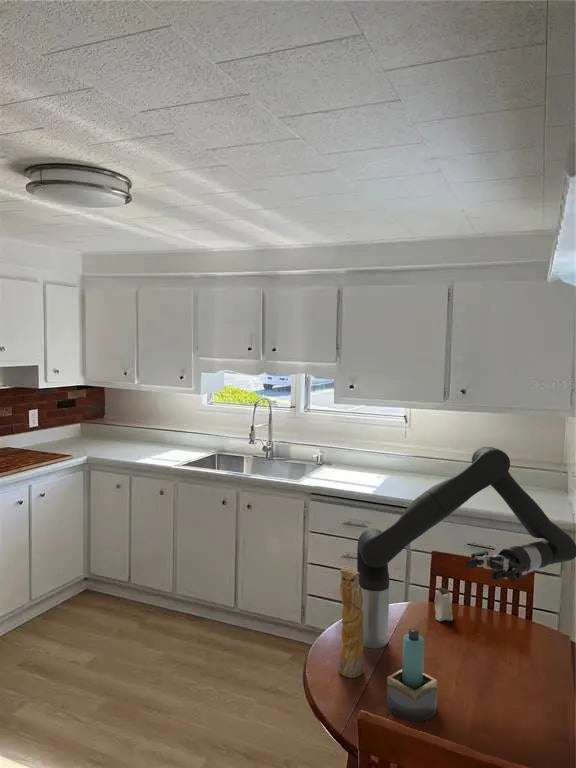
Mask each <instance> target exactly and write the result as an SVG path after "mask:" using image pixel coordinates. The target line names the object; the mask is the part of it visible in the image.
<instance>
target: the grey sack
mask: <svg viewBox="0 0 576 768" xmlns="http://www.w3.org/2000/svg"><path fill="white" fill-rule="evenodd" d="M450 598H451V597H450V590H449V589H447V588H444V587H439V588H438V592H437V593H436V595H435V597H434V602H433V603H434V610H435V621H438V622H443V621H450V622H453V619H454V617H453V607H452V603H451V599H450Z"/></svg>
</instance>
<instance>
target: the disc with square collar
mask: <svg viewBox="0 0 576 768" xmlns="http://www.w3.org/2000/svg"><path fill="white" fill-rule="evenodd" d="M437 699H438V680H437V679H436V678H434V677H433V676H430V675H429V674H427V673H424V672H423V686H422V687H420V688H418V689H417V690H413V689H411V688H409V687H408V686H406V685H404V684H402V668H401V669H399V670H397V671H396V672H394V673H392V674H390V675H388V676H387V677H386V706H387V708H388V710H389V711H390V712H391V713H392V714H394V715H396V716H397V717H399V718H401V719H404V720H408V721H412V722H413V721H414V722H422V721H427V720H430V719H431V718H432V717H434V716H435V715H436V713H437V702H438V701H437Z"/></svg>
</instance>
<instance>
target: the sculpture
mask: <svg viewBox="0 0 576 768" xmlns="http://www.w3.org/2000/svg"><path fill="white" fill-rule="evenodd" d="M339 573H340V574H341V575H340V584H339V588H340V589H339V590H340V597H341V603H342V606H343V607H342V609H341V610H342V611H341V615H342V616H341V617H342V618H341V623H342V627H341V640H342V641H341V644H342V645H341V650H340V657H339V662H338V673H340V675H342V676H343V677H346V678H352V679H353V678H358V677H360V676H361V675H363V674H364V646H363V618H364V613H363V611H362V610H361V609H362V604H363V597H362V590H361V587H360V585H359V577H358V575H359V574H360V573H359V572H357V570H355V569H351V568H344V569H343V568H342V569H341V568H340V569H339Z"/></svg>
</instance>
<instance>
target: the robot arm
mask: <svg viewBox="0 0 576 768" xmlns="http://www.w3.org/2000/svg"><path fill="white" fill-rule="evenodd" d="M510 468H511V460H510V457H509V455H508V454H507V453H506V452H505V451H503V450H501V449H499V448H495V447H492V446H482V447H479V448H478V449H476V450H475V451H474V452H473V453H472V456H471V464H470V465H468V467H466V468H465V469H464V470H462V471H461V472H459V473H458V474H456V475H454V476H453V477H450V478H447V479H445V480H443V481H441V482H439V483H436V484H435V485H433V486H431V487H429V488H428V489H427V490H425V491H423V493H422V494H420V495H419V496H417V497H416V498H414V500H413V501H412V502H411V503H410V504H409V505H408V507H407V508H406V509H405V510H404V512H403V513H402V514H401V516H400V517H399V518H398V520H397V521H395V522H394V523H393V524H392V525H391V526H389V527H388V528H386V529H385V530H383V531H382V530H379V529H377V528H369V529H366V530H364V531H363V532H362V533H361V534H360V536H359V538H358V539H357V540H358V541H357V547H356V550H357V555H356V556H357V557H356V561H357V562H356V565H357V567H356V571H357V572H359V573H360V574H359V575H358V577H359V585H360V587H361V590H362V597H363V604H362V609H361V610H362V611H363V613H364V618H363V648H369V649H381V648H385V646H387V645H388V641H389V638H388V637H389V611H390V610H389V607H390V605H389V604H390V574H389V566H388V565H389V563H390V562H391V561H392V560H393V559H394V558H395V557H396V556H397V555H399V554H400V553H401V552H402V551H403V550H404V549H405V548H406V547H407V546H409V545H410V544H411V543H412V542H414V541H415V540H416V539H418V538H419V537H421V536H422V535H423V534H425V533H426V532H427V531H429V530H430V529H432V528H433V527H434V526H436V525H437V524H439V523H441V522H442V521H443V520H444V519H446V518H447V517H449V516H450V515H451V514H453V512H455V511H456V510H458V509H459V508H460V507H461V506H463V505H464V504H465V503H466V502H468V500H469V499H471V498H472V497H473V496H475V495H476V494H478V493H479V492H481V491H483V490H484V489H486V488H488V487H489V486H491V487H492V488H493V489H494V490H495V491H496V492H497V494H498V495H499V496H500V497H501V499H503V501H504V502H505V503H506V505H507V506H508V507H509V509H510V510H511V512H512V513H513V514H514V515H515V517H516V518H517V520H518V521H519V522H520V524H522V526H523V527H524V529H525V530H526V532H527V533H529V535H530V536H531V537H532V538H535V539H541V540H539V541H535V542H529V543H523V544H518V545H513V546H509V547H505V548H503V549H502V550H500V551H499V553H498V554H494V555H493V554H492V555H490V554H489V551H486V550H484V551H479V552H474V553H471V554H470V557H471V558H470V559H466V561H465V568H466V569H469V570H470V569H474V568H484V569H486V570H492V571H491V572H490V579H491V580H492V581H497V580H502V579H505V580H508V579H509V580H510V581H511V582H516V581H519V580H521V579H524V578H527V574H529V573H531V572H534V571H535V570H538V569H541V568H545V567H547V566H548V565H553V564H558V563H563V562H564V563H565V562H569V561H572V560H575V558H576V542H575V541H574V539H573V538H572V536H570V535H569V534H568V533H567V532H566V531H564V530H563V529H561V528H560V527H559V526H558V525H557V524H556V523H554V522H553V521H551V520H550V517H548V515H547V514H546V513H545V512H544V511H543V509H542V507H540V506H539V504H538V503H537V502H536V501H535V500H534V499H533V498H532V496H530V495H529V494H528V493H527V492H526V491H525V489H523V488H522V487H521V486H520V484H519V483H518V482H517V481H516V480H515V479H514V477H513V476H512V475H511V473H510ZM488 562H489V563H488ZM487 564H488V565H487Z"/></svg>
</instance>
